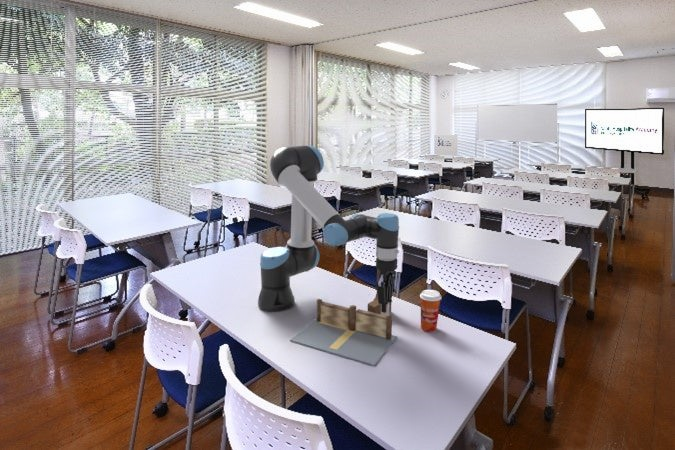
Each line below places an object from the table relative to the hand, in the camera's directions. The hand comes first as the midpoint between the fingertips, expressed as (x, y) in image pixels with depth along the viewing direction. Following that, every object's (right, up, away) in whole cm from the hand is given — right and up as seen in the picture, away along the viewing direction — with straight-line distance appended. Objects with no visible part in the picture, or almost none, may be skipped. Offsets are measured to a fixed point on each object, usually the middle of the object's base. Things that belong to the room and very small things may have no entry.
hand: (384, 318), depth 151 cm
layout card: (-15, -6, -5) cm, 17 cm away
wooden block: (0, -1, +15) cm, 15 cm away
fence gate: (-4, -4, -3) cm, 7 cm away
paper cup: (+17, -4, +2) cm, 17 cm away
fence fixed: (-18, -3, +4) cm, 18 cm away
